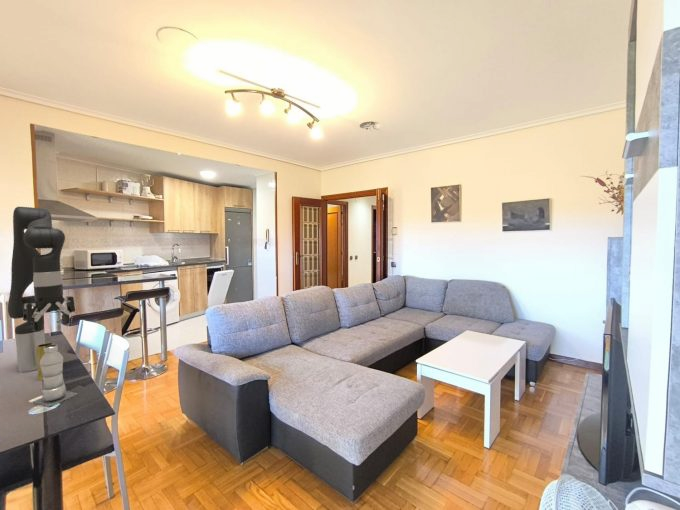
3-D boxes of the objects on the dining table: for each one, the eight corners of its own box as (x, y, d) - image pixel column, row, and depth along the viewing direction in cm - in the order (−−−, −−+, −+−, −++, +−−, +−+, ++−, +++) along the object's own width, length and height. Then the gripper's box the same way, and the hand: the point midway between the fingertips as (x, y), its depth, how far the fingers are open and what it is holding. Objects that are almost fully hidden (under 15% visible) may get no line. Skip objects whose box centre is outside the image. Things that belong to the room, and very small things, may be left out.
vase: (46, 374, 133) (43, 342, 132) (61, 373, 133) (58, 341, 132) (33, 380, 127) (30, 347, 126) (49, 380, 127) (46, 347, 126)
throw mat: (28, 402, 110) (28, 400, 110) (58, 390, 119) (57, 388, 119) (49, 407, 107) (49, 406, 107) (78, 394, 115) (77, 393, 115)
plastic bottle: (45, 405, 107) (41, 350, 106) (40, 400, 111) (35, 347, 110) (69, 397, 112) (65, 345, 111) (63, 392, 116) (59, 341, 115)
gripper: (64, 280, 117) (67, 321, 118) (15, 286, 104) (19, 333, 105) (77, 281, 115) (80, 323, 116) (29, 287, 101) (33, 335, 103)
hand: (51, 327), depth 110 cm, fingers open, 8 cm apart
